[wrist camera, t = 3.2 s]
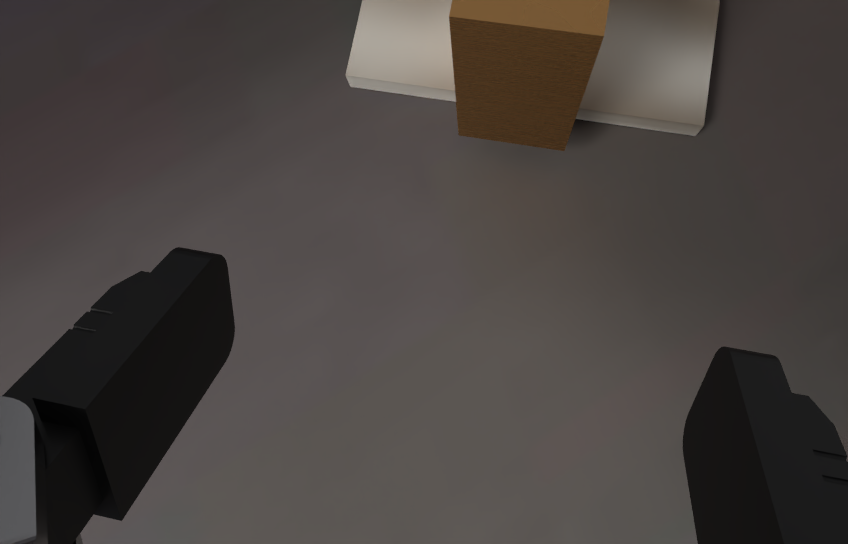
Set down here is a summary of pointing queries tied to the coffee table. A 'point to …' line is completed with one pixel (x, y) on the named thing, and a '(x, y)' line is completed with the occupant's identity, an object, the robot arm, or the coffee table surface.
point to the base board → (610, 78)
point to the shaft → (523, 66)
